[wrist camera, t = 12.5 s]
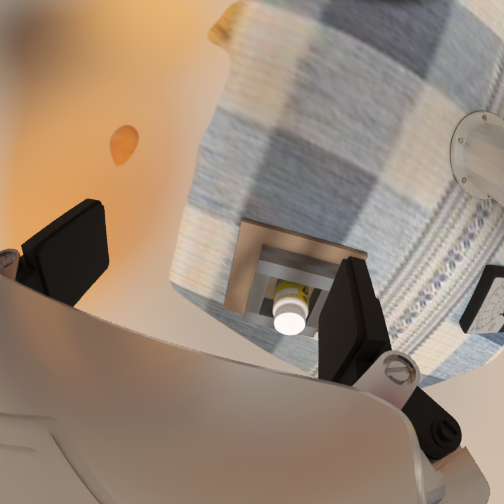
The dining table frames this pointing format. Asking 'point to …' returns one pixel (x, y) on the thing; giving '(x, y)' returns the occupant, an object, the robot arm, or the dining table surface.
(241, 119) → the dining table surface
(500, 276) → the multimeter
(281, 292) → the supplement bottle
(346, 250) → the pocket board
